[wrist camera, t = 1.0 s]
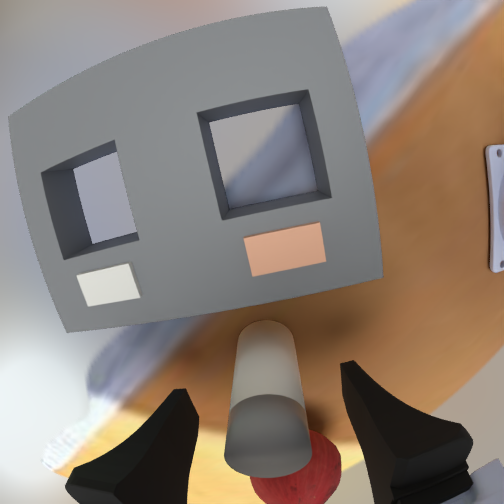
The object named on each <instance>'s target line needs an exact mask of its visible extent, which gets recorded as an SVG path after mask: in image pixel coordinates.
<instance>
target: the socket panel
mask: <svg viewBox="0 0 504 504" xmlns="http://www.w3.org/2000/svg"><path fill="white" fill-rule="evenodd" d="M293 104H299V105H300V109H301V113H302V118H303V122H304V126H305V130H306V135H307V139H308V144H309V148H310V153H311V158H312V163H313V167H314V172H315V177H316V182H317V188H318V191H316V192H311V193H306V194H301V195H296V196H291V197H286V198H281V199H276V200H271V201H267V202H262V203H257V204H252V205H248V206H243V207H239V208H234V209H230V210H229V206H228V202H227V198H226V194H225V189H224V185H223V181H222V177H221V172H220V168H219V164H218V160H217V155H216V151H215V147H214V142H213V138H212V133H211V129H210V125H209V122H212V121H216V120H220V119H224V118H229V117H233V116H237V115H242V114H246V113H250V112H256V111H260V110H265V109H270V108H276V107H281V106H287V105H293ZM8 119H9V130H10V139H11V146H12V153H13V160H14V166H15V172H16V177H17V183H18V187H19V192H20V197H21V201H22V205H23V210H24V214H25V218H26V221H27V225H28V229H29V232H30V236H31V239H32V243H33V246H34V249H35V252H36V255H37V259H38V261H39V264H40V268H41V270H42V273H43V276H44V279H45V282H46V284H47V287H48V290H49V292H50V294H51V297H52V300H53V302H54V305H55V307H56V309H57V312H58V314H59V316H60V319H61V321H62V323H63V325H64V328H65V330H66V332H67V333H69V332H79V331H88V330H97V329H106V328H114V327H122V326H129V325H137V324H144V323H151V322H158V321H165V320H172V319H178V318H185V317H191V316H197V315H203V314H209V313H215V312H221V311H227V310H232V309H238V308H243V307H249V306H254V305H259V304H265V303H270V302H275V301H280V300H285V299H290V298H295V297H300V296H304V295H309V294H314V293H318V292H323V291H328V290H332V289H337V288H341V287H346V286H350V285H354V284H358V283H363V282H367V281H371V280H375V279H379V278H383V264H382V252H381V242H380V232H379V223H378V215H377V208H376V200H375V194H374V187H373V181H372V175H371V169H370V163H369V158H368V152H367V147H366V142H365V137H364V133H363V128H362V124H361V119H360V115H359V111H358V106H357V102H356V98H355V94H354V91H353V87H352V83H351V79H350V76H349V72H348V69H347V65H346V62H345V59H344V55H343V52H342V49H341V46H340V43H339V40H338V37H337V34H336V31H335V28H334V25H333V22H332V19H331V17H330V14H329V11H328V8H327V7H312V8H300V9H290V10H282V11H274V12H267V13H261V14H255V15H249V16H244V17H239V18H234V19H229V20H225V21H221V22H216V23H212V24H208V25H204V26H200V27H197V28H193V29H189V30H186V31H183V32H179V33H176V34H173V35H170V36H167V37H164V38H161V39H158V40H155V41H153V42H150V43H147V44H144V45H142V46H139V47H137V48H134V49H131V50H129V51H126V52H124V53H122V54H119V55H117V56H115V57H112V58H110V59H108V60H106V61H103V62H101V63H99V64H97V65H95V66H93V67H91V68H89V69H87V70H85V71H83V72H81V73H79V74H77V75H75V76H73V77H71V78H69V79H68V80H66V81H64V82H62V83H61V84H59V85H57V86H55V87H53V88H52V89H50V90H49V91H47V92H45V93H43V94H42V95H40V96H39V97H37V98H36V99H34V100H32V101H31V102H29V103H28V104H26V105H25V106H23V107H22V108H20V109H19V110H17V111H16V112H14V113H13V114H12V115H10V116H9V117H8ZM116 151H117V153H118V158H119V162H120V166H121V171H122V175H123V179H124V183H125V188H126V192H127V196H128V200H129V203H130V207H131V211H132V215H133V218H134V222H135V225H136V229H137V232H135V233H132V234H128V235H124V236H121V237H116V238H113V239H109V240H105V241H102V242H98V243H95V244H92V241H91V237H90V234H89V231H88V227H87V224H86V220H85V217H84V213H83V209H82V205H81V201H80V197H79V194H78V189H77V185H76V180H75V176H74V171H73V169H74V168H76V167H79V166H81V165H83V164H86V163H88V162H91V161H93V160H96V159H98V158H101V157H103V156H106V155H109V154H111V153H114V152H116Z"/></svg>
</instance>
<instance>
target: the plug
mask: <svg viewBox="0 0 504 504" xmlns="http://www.w3.org/2000/svg"><path fill="white" fill-rule="evenodd" d="M311 457H312V448H311V441H310V435H309V428H308V422H307V415H306V409H305V403H304V397H303V391H302V385H301V379H300V373H299V367H298V361H297V355H296V349H295V343H294V338H293V335H292V333H291V331H290V330H289V329H288V328H287V327H286V326H285V325H283V324H281V323H279V322H276V321H272V320H260V321H256V322H254V323H251V324H249V325H248V326H247V327H245V328H244V329H243V331H242V332H241V333H240V335H239V338H238V344H237V352H236V361H235V369H234V377H233V386H232V394H231V402H230V410H229V419H228V427H227V436H226V444H225V452H224V458H225V461H226V462H227V464H228V465H229V466H230V467H231V468H232V469H234V470H235V471H237V472H239V473H242V474H244V475H248V476H252V477H259V478H274V477H281V476H286V475H289V474H292V473H294V472H296V471H298V470H300V469H302V468H303V467H304V466H306V465H307V464H308V462H309V461H310V459H311Z"/></svg>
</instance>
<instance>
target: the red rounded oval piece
mask: <svg viewBox="0 0 504 504" xmlns="http://www.w3.org/2000/svg"><path fill="white" fill-rule="evenodd" d="M309 435H310V441H311V448H312V457H311V459H310V461H309V462H308V464H307V465H306V466H304V467H303V468H302V469H300V470H298V471H296V472H294V473H292V474H289V475H286V476H281V477H274V478H259V477H252V476H250V479H251V483H252V486H253V488H254V490H255V493H256V494H257V495H258V496H259V498H260V499H261V500H263V501H264V502H265V503H266V504H324V503H325V502H326V501H327V500H328V499H329V497H330V496H331V495H332V494H333V493H334V491H335V490H336V488H337V486H338V485H339V482H340V478H341V456H340V453H339V451H338V449H337V447H336V446H335V445H334V444H333V443H332V442H331V441H330V440H329V439H327V438H326V437H325V436H323V435H322V434H320V433H318V432H315V431H312V430H309Z"/></svg>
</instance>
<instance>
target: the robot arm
mask: <svg viewBox="0 0 504 504" xmlns="http://www.w3.org/2000/svg"><path fill="white" fill-rule="evenodd" d="M497 151H498V156H497ZM486 161H487V170H488V180H489V193H490V214H491V250H490V269H491V271H493V272H495V273H497V272H500V271H503V270H504V144H503V145H489V146H487V148H486ZM501 261H502V262H501ZM500 263H501V265H500ZM340 368H341V380H342V394H343V399H344V402H345V406H346V410H347V414H348V416H349V419H350V421H351V424H352V426H353V429H354V431H355V434H356V436H357V439H358V441H359V444H360V446H361V449H362V452H363V455H364V459H365V462H366V467H367V471H368V475H369V479H370V484H371V488H372V493H373V498H374V503H375V504H504V467H503V466H502V464H501V462H500V461H499V459H495V460H493V461H491V462H489V463H488V464H486V465H484V466H482V467H481V468H479V469H477V470H476V471H474V472H473V473H472V474H471V475H469V473H468V471H467V470H468V468H469V466H468V464H467V463H466V459H467V457H468V455H469V453H470V451H471V449H472V446H473V439H472V438H471V436H470V434H469V433H468V432H467V430H466V429H465V428H464V427H463V426H462V425H461V424H460V423H455V422H451V421H447V420H443V419H439V418H436V417H433V416H431V415H428V414H426V413H423V412H421V411H419V410H417V409H415V408H413V407H411V406H409V405H407V404H405V403H404V402H402V401H400V400H399V399H397V398H396V397H394V396H393V395H392V394H390V393H389V392H387V391H386V390H385V389H384V388H382V387H381V386H380V385H379V384H378V383H376V382H375V381H374V380H373V379H372V378H371V377H370V376H369V375H368V374H367V373H366V372H365V371H364V370H363V369H362V368H361V367H360V366H359V365H358V364H357V363H356V362H355V361H354V360H352V361H348V362H344V363H340ZM198 429H199V416H198V414H197V411H196V409H195V407H194V405H193V403H192V401H191V399H190V397H189V395H188V392H187V390H186V388H185V389H174V390H173V391H172V392H171V393H170V394H169V396H168V397H167V398H166V399H165V400H164V402H163V403H162V404H161V405H160V406H159V407H158V409H157V410H156V411H155V412H154V413H153V414H152V415H151V416H150V418H149V419H148V420H147V421H146V422H145V423H144V424H143V425H142V426H141V427H140V428H139V429H138V430H137V431H136V432H134V433H133V434H132V435H131V436H130V437H129V438H127V439H126V440H125V441H124V442H122V443H121V444H119V445H118V446H116V447H115V448H113V449H112V450H110V451H109V452H107V453H106V454H104V455H102V456H100V457H98V458H96V459H94V460H92V461H90V462H88V463H85V464H83V465H80V466H78V467H75V468H74V469H73V471H72V473H71V475H70V477H69V479H68V481H67V483H66V485H65V488H66V490H67V492H68V493H69V494H70V495H71V496H72V497H73V498H74V499H75V500H76V501H77V502H78V503H79V504H187V492H188V481H189V473H190V468H191V464H192V459H193V455H194V451H195V446H196V442H197V437H198Z"/></svg>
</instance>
